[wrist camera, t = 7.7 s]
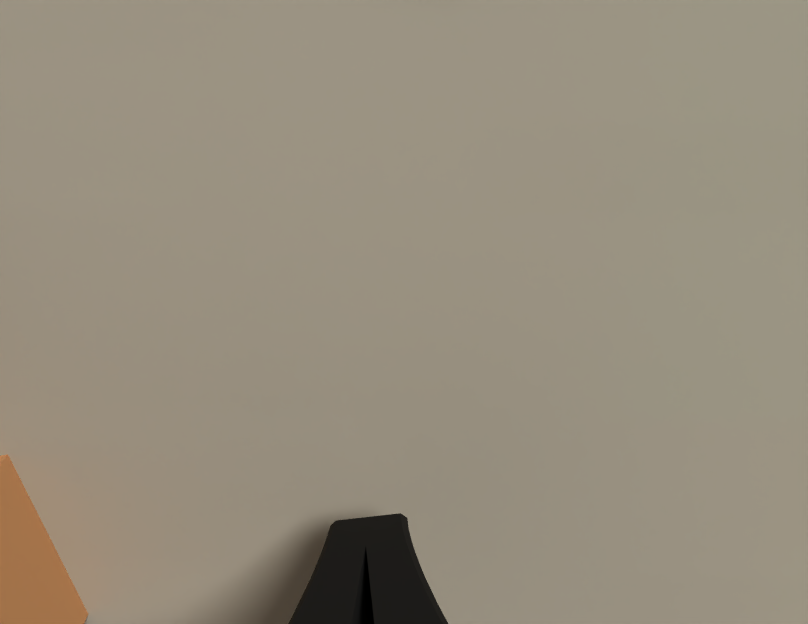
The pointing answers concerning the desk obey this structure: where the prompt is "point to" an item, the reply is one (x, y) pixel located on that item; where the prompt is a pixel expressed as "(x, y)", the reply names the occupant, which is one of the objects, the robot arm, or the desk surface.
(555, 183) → the desk surface
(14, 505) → the doorstop wedge
